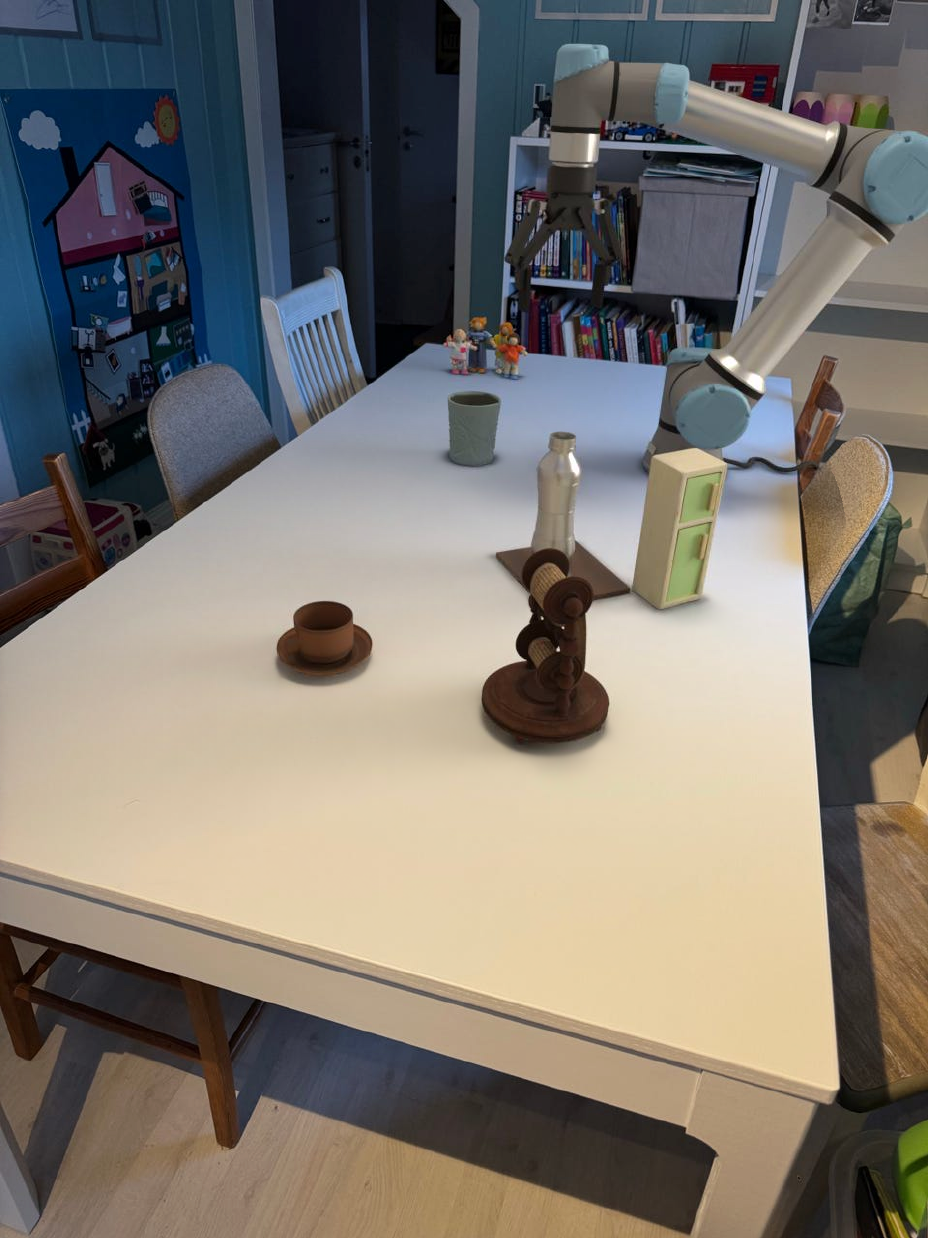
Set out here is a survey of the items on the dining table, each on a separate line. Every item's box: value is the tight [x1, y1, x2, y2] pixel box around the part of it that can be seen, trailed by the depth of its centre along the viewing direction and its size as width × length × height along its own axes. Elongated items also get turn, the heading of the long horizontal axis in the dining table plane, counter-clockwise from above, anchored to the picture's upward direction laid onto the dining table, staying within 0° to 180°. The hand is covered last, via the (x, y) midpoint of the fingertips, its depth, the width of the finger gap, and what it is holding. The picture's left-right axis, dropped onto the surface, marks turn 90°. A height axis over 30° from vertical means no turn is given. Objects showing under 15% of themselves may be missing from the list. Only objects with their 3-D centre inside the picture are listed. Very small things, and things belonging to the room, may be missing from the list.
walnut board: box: [495, 539, 631, 601], centre depth 133 cm, size 14×17×1 cm
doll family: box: [443, 316, 528, 380], centre depth 223 cm, size 21×10×13 cm, turn 81°
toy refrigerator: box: [631, 448, 728, 610], centre depth 123 cm, size 8×7×21 cm
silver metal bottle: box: [530, 431, 583, 561], centre depth 130 cm, size 6×7×20 cm
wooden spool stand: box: [481, 548, 610, 746], centre depth 99 cm, size 15×15×20 cm
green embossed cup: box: [447, 390, 502, 467], centre depth 171 cm, size 10×10×12 cm
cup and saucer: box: [275, 600, 374, 676], centre depth 111 cm, size 12×12×6 cm
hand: (560, 308), depth 146 cm, fingers open, 13 cm apart
